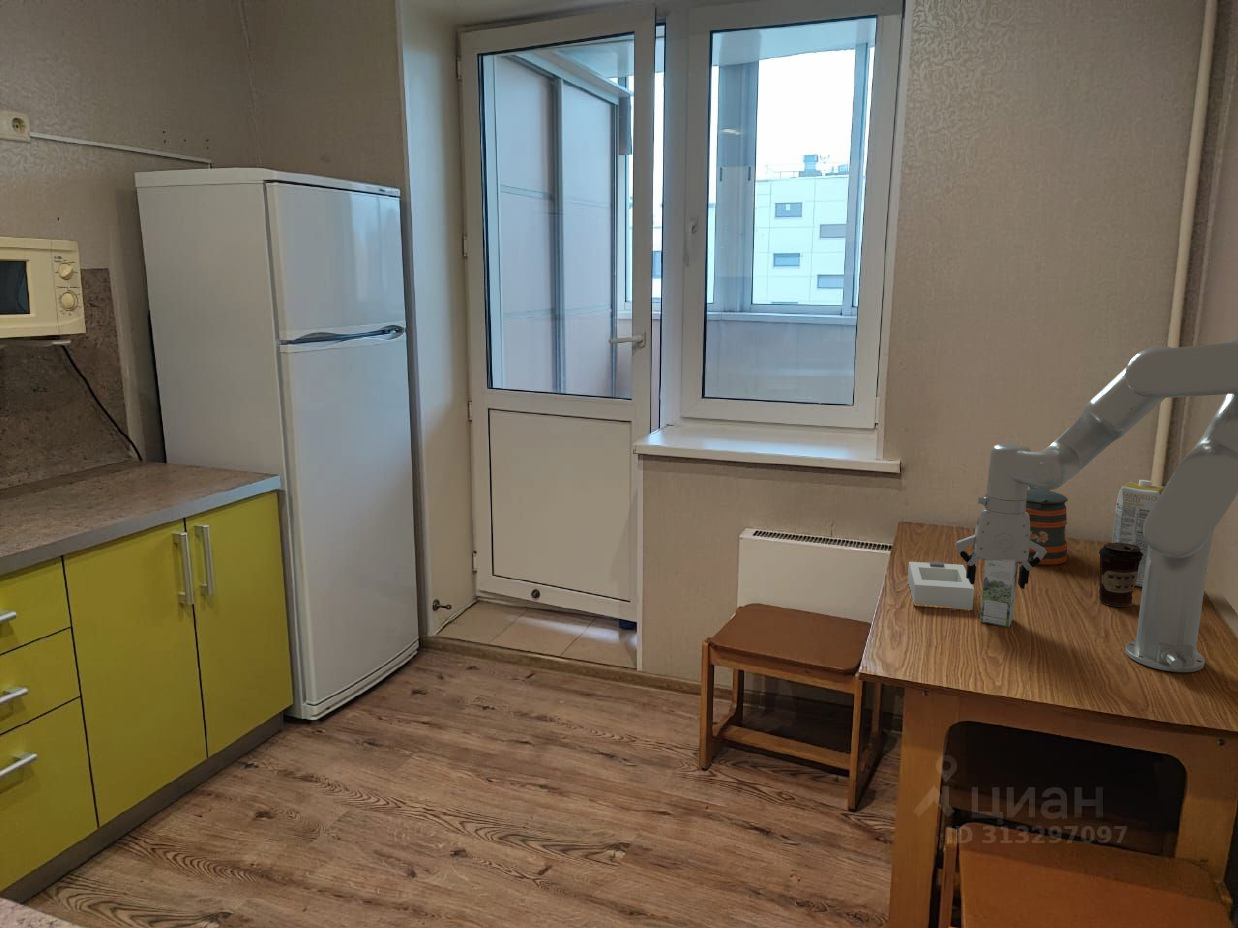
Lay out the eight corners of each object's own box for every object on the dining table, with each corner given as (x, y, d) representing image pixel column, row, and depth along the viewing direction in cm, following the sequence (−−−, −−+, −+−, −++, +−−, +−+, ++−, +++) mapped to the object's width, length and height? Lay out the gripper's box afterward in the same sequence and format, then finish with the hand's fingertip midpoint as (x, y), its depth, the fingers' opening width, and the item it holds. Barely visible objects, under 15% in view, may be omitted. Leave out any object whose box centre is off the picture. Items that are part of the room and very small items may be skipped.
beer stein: (997, 541, 235) (1003, 469, 230) (1056, 545, 231) (1064, 472, 226) (1007, 563, 217) (1014, 485, 213) (1072, 568, 213) (1080, 489, 209)
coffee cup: (1144, 611, 185) (1151, 553, 182) (1101, 609, 187) (1107, 551, 184) (1129, 597, 193) (1135, 541, 191) (1088, 594, 195) (1094, 539, 192)
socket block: (972, 610, 187) (974, 585, 186) (913, 606, 189) (915, 582, 188) (961, 585, 202) (963, 562, 201) (907, 581, 205) (908, 559, 204)
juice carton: (1159, 581, 203) (1171, 481, 198) (1150, 590, 197) (1163, 487, 192) (1114, 572, 209) (1125, 475, 204) (1105, 580, 204) (1116, 481, 199)
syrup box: (1013, 619, 182) (1019, 552, 179) (1008, 628, 177) (1014, 560, 174) (984, 613, 185) (989, 548, 182) (979, 622, 180) (984, 556, 177)
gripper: (962, 506, 174) (954, 586, 178) (1056, 513, 170) (1045, 594, 174) (957, 497, 181) (949, 574, 185) (1047, 503, 178) (1037, 582, 181)
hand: (996, 584), depth 180 cm, fingers open, 9 cm apart
